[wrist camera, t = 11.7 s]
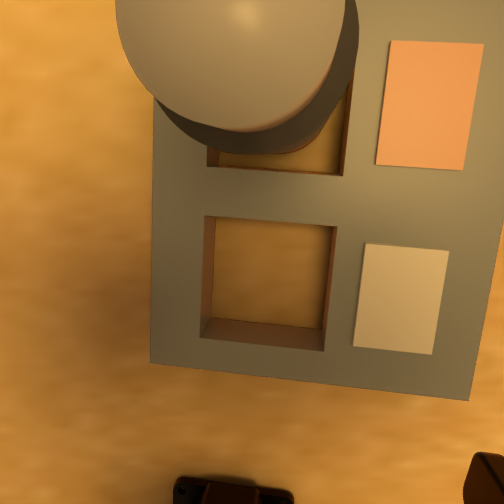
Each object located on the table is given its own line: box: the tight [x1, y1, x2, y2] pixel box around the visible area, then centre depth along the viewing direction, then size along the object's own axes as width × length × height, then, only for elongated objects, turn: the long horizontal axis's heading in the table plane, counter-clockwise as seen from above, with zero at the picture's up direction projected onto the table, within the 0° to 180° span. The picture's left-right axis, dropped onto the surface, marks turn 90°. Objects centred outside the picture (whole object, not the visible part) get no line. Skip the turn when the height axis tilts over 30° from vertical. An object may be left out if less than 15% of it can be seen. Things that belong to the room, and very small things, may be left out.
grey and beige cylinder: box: [115, 0, 359, 154], centre depth 13 cm, size 4×4×14 cm
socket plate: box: [150, 0, 504, 401], centre depth 19 cm, size 16×14×3 cm
